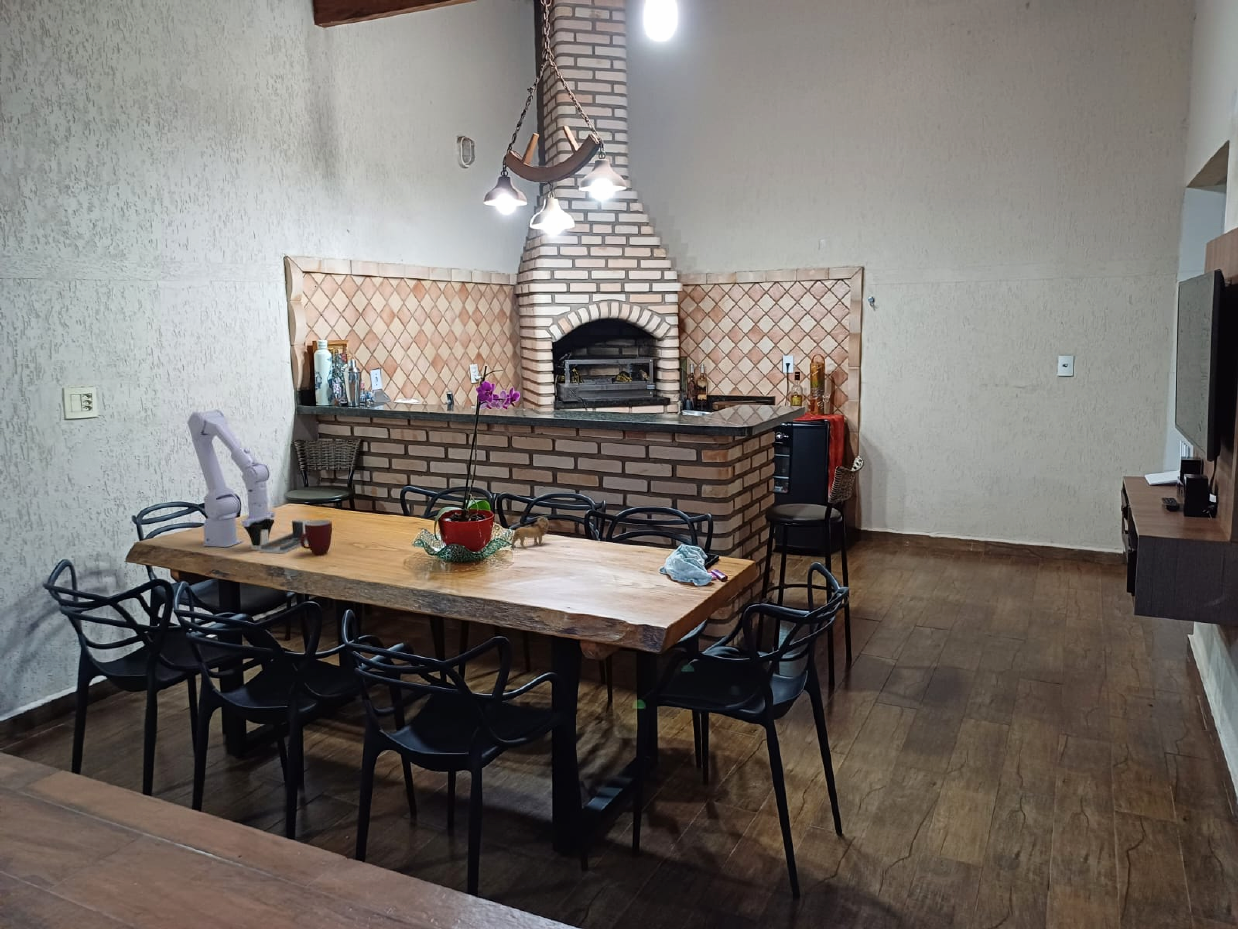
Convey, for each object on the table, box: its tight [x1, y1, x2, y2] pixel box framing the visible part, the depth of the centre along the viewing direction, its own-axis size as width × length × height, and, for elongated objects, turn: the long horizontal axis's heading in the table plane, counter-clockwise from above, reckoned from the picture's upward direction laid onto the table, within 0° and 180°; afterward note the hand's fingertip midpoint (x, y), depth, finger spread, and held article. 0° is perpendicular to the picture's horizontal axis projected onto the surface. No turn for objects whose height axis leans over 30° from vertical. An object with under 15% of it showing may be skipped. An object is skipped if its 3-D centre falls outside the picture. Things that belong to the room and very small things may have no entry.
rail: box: [260, 518, 310, 554], centre depth 288 cm, size 8×19×7 cm, turn 168°
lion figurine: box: [510, 516, 550, 549], centre depth 286 cm, size 15×5×9 cm, turn 130°
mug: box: [300, 519, 333, 556], centre depth 276 cm, size 10×8×10 cm
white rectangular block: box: [250, 529, 270, 551], centre depth 284 cm, size 4×4×6 cm
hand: (260, 543), depth 284 cm, fingers closed on white rectangular block, 4 cm apart
